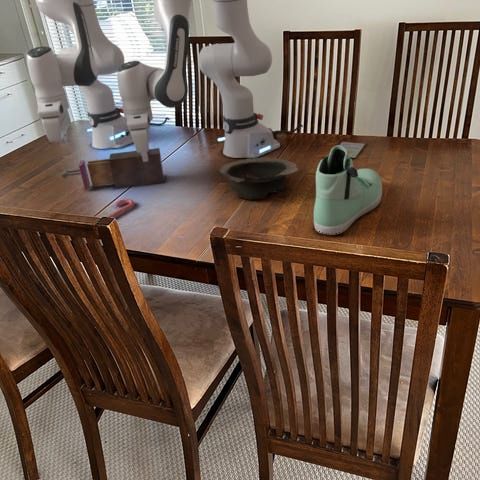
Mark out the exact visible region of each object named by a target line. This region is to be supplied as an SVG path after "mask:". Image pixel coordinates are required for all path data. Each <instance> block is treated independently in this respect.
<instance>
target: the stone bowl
mask: <svg viewBox="0 0 480 480" xmlns="http://www.w3.org/2000/svg"><path fill="white" fill-rule="evenodd" d="M298 170H299V169H298V167H297V166H296V164H295V163H293V162H291V161H289V160H287V159H281V158H272V157H271V158H269V157H256V158H242V159H239V160H235V161H232V162H231V161H230V162H228V163H225V164H223V165H222V166H221V168H220V169H219V170H217V173H219V174H220V175H221V176H223V177H224V178H226V179H227V180H228V182H229V186H230V188H231V190H232V191H234V192H235V193H236V196H237V198H239V199H241V200H243V199H245V200H251V201H252V200H255V199H257V200H262V199H264V198H266V197H267V196H268V193H269V194H273V193H281V192H282V191H284V190H285V189H284V188H285V185H286V183H287V182H286V181H287V177H289V176H290V175H292V174H294V173H296V172H297V171H298Z"/></svg>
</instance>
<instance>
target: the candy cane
mask: <svg viewBox="0 0 480 480" xmlns="http://www.w3.org/2000/svg"><path fill="white" fill-rule="evenodd" d="M124 204H125V206H123V207H121V208H119V209H117V210H115V211H114V212H112V213H110V214H108V215H107V216H106V217H114V218H116V217H118V216H119V215H122V214H123V213H125V212H126V211H128V210H130V209H132V208H133V207H134V206H135V201H134V200H133V199H130V198H123V199H119V200H118V201H116V202H115V206H116V207H120V206H121V205H124Z"/></svg>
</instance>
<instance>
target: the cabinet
mask: <svg viewBox="0 0 480 480" xmlns="http://www.w3.org/2000/svg"><path fill="white" fill-rule="evenodd" d="M147 155H148V161H147V162H143V159H142V156H141V153H137V151H136V150H132V151H131V150H130V151H123V152H114V153H113V152H112V153H110V154H109V158H108V159H109V163H110V167H111V171H112V176H113V180H114V184H113V185H114V188H115V189H123V188H131V187H138V186H146V185H155V184H161V183H162V184H163V183H165V173H164V167H163V162H162V157H161V156H162V155H161V149H160V147H157V148H149V149H148V152H147Z"/></svg>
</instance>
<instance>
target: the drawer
mask: <svg viewBox="0 0 480 480" xmlns="http://www.w3.org/2000/svg"><path fill="white" fill-rule="evenodd" d="M78 168H79V169H70V170H69V169H66V168H65V169H63V171H62V173H61V177H62V178H64V179H66V178H68V177H70V176H76V175H77V176H79V175H80V176H81V180H82V183H83V187H84V190H88V189H89V188H90V184H91V186H92V187H100V186H109V185H114V180H113V176H112V171H111V167H110V163H109V158H105V159H104V158H103V159H95V160H88V161H87V164H86V162H85V160H84V159H83V160H80V161H79V164H78Z"/></svg>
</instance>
